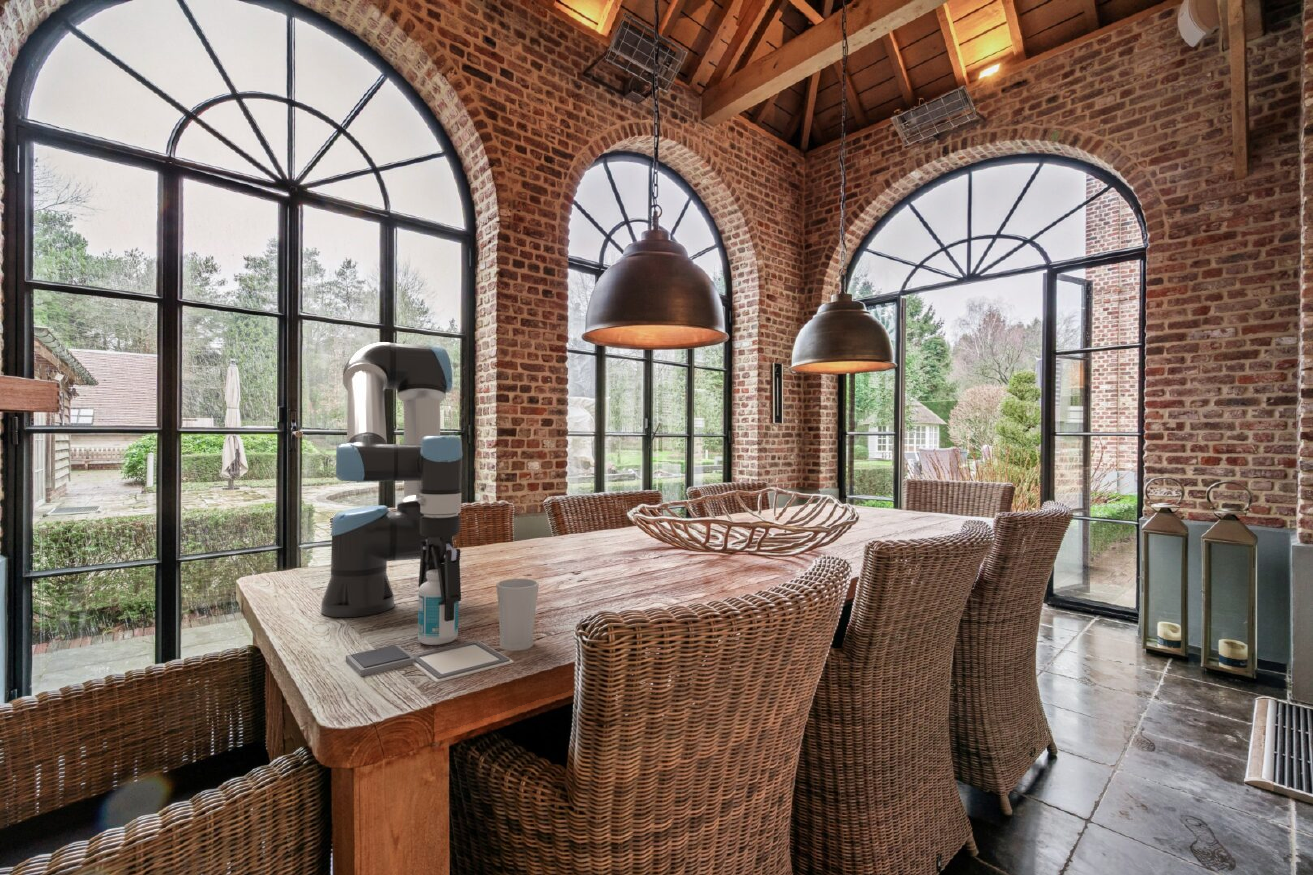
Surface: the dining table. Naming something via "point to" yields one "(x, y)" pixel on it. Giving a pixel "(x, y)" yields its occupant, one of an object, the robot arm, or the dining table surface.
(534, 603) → the cup
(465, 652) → the sheet
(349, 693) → the dining table surface
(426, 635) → the pill bottle
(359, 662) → the ink pad
